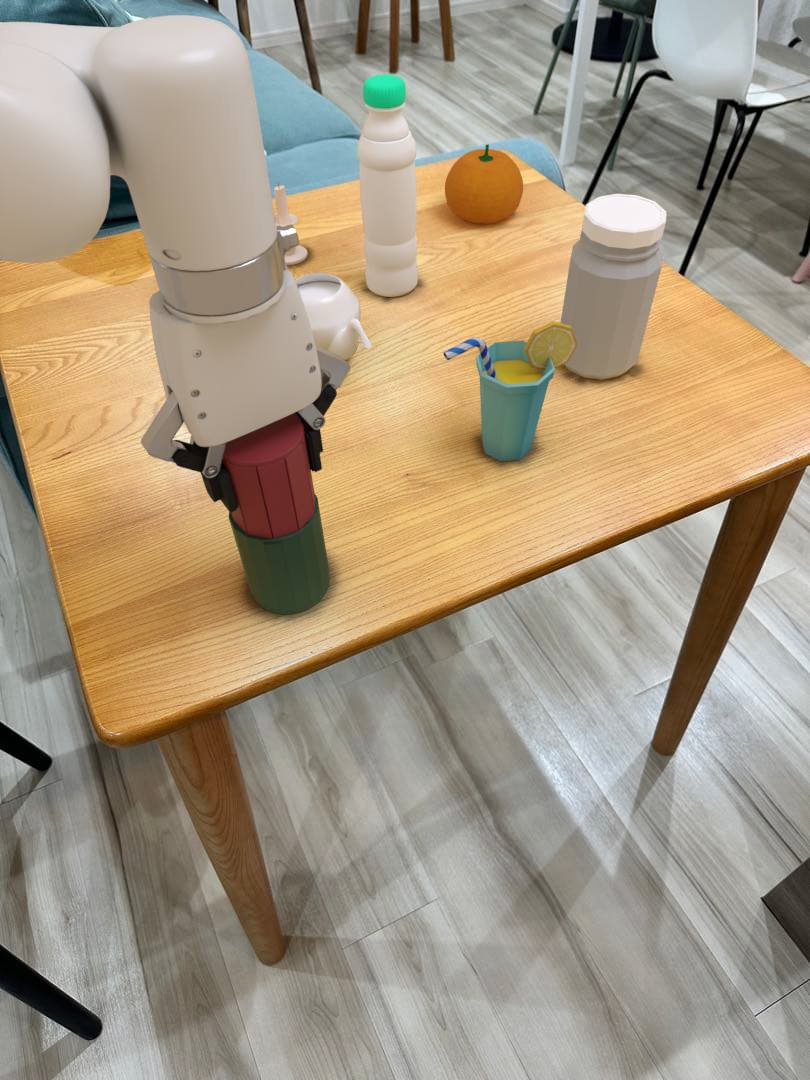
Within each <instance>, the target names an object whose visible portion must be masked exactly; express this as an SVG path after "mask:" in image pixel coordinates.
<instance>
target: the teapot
mask: <svg viewBox="0 0 810 1080" xmlns="http://www.w3.org/2000/svg"><path fill="white" fill-rule="evenodd" d="M286 267H287V268H288V265H286ZM294 280H295V282H296V284H297V287H298V290H299V292H300V295H301V298H302V301H303V304H304V307H305V310H306V313H307V316H308V319H309V322H310V326H311V329H312V333H313V337H314V341H315V345H316V346H318V347H320V348H323V349H325V350H327V351H330V352H332V353H334V354H337V355H339V356H340V357H342V358H343V359H344V360H345V361H346V360H347V361H348V360H349V359H350V358H352V357H353V356H354V355H355V354H356V352H357V350H358V347H359V342H360V343H361V345H362V347H363V348H365V349H371V348H372V347H373V345H372V342H371V341H370V339H369V338H368V336H367V334H366V332H365V330H364V328H363V326H362V323H361V313H362V312H361V304H360V301H359V299H358V297H357V295H356V294H355V292H353V290H352V289H351V288H350V286H348V284H347V283H346V282H345V281H344V280H342V279H341V277H339V276H336V275H334V274H330V273H326V272H311V273H307V274H304V275H300V276H299V277H297V278H295V279H294Z"/></svg>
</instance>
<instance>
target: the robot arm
mask: <svg viewBox="0 0 810 1080" xmlns="http://www.w3.org/2000/svg"><path fill="white" fill-rule="evenodd" d="M251 67H252V66H251V63H250V58H249V54H248V52H247V50H246V47H245V44H244V42H243V41H242V38H241V37H240V36H239V35H238V33H237V32H236V31H235V30H233V28H232V27H230V26H228V25H227V24H226V23H224V22H222V21H220V20H217V19H213V18H209V17H206V16H198V15H190V14H173V15H172V14H171V15H160V16H152V17H148V18H142V19H138V20H133V21H131V22H128V23H125V24H123V25H120V26H90V25H89V26H88V25H71V24H59V23H50V22H37V21H36V22H35V21H4V22H0V260H2V261H6V262H12V263H18V264H20V263H21V264H43V263H51V262H56V261H59V260H62V259H64V258H67V257H70V256H73V255H75V254H76V253H78V252H79V251H81V250H82V249H83V248H85V247H86V246H87V245H88V244H89V243H90V242H91V241H92V240H93V239H94V238H95V237H96V235H97V234H98V232H99V231H100V229H101V227H102V225H103V223H104V222H105V219H106V217H107V213H108V210H109V205H110V200H111V176H116V177H120V178H121V179H123V180H124V181H125V183H126V184H127V188H128V190H129V194H130V197H131V200H132V203H133V207H134V210H135V212H136V217H137V220H138V223H139V227H140V230H141V233H142V236H143V240H144V243H145V246H146V249H147V253H148V257H149V259H150V263H151V266H152V270H153V273H154V276H155V280H156V283H157V286H158V289H159V291H157V292H154V293H153V294H152V295H151V296H150V298H149V303H148V304H149V318H150V319H149V320H150V327H151V334H152V340H153V341H152V342H153V346H154V353H155V357H156V362H157V365H158V370H159V374H160V379H161V382H162V387H163V390H164V395H165V398H166V399H165V401H164V403H163V404H162V406H161V407H160V409H159V411H158V412H157V414H156V415H155V417H154V418H153V420H152V421H151V423H150V425H149V426H148V427H147V430H146V431H145V432H144V434H143V435H142V437H141V440H140V444H141V446H142V447H143V449H144V450H145V451H146V453H147V454H148V456H150V457H153V458H155V459H158V460H162V461H165V462H168V463H173V464H175V465H176V466H177V467H179V468H182V469H187V470H190V471H194V472H197V473H200V476H201V478H202V482H203V485H204V488H205V490H206V493H207V494H208V496H209V498H210V500H211V501H212V502H213V503H217V502H218V501H220V502H221V503H222V504H223V505H224V507H225V508H226V509H227V511H228V513H229V512H230V513H232V512H234V511H236V510H237V508H238V504H237V500H236V497H235V493H234V489H233V486H232V482H231V479H230V475H229V473H228V471H227V470H226V469H225V467H224V466H223V465H222V464H221V463H222V459H223V454H224V450H225V446H226V442H228V441H231V440H233V439H236V438H238V437H240V436H243V435H245V434H248V433H250V432H252V431H254V430H257V429H259V428H261V427H264V426H266V425H268V424H270V423H273V422H275V421H277V420H279V419H282V418H284V417H286V416H288V415H291V414H293V413H295V414H296V415H297V416H298V417H299V419H300V420H301V422H302V423H303V425H304V431H305V439H306V445H307V451H308V457H309V463H310V469H311V472H314V473H317V472H319V471H321V470H323V466H322V459H321V458H322V457H321V453H323V452H324V447H323V439H322V432H321V429H322V428H323V427H324V426H325V425H326V417H325V415H326V413H327V412H328V411H329V409H330V407H331V406H332V404H333V403H334V401H335V399H336V398H337V395H338V391H337V390H338V388H340V387H341V385H342V384H343V382H344V380H345V379H346V377H347V376H348V373H349V372H350V370H351V366H350V363H348V362H347V361H346V360H344V359H343V358H342V357H340V356H339V355H337V354H334V353H332V352H330V351H327V350H325V349H323V348H320V347H318V346H316V345H315V341H314V337H313V333H312V329H311V326H310V322H309V319H308V316H307V313H306V310H305V307H304V304H303V301H302V298H301V295H300V292H299V290H298V287H297V284H296V282H295V280H296V279H295V278H294V275H293V272H291V270H290V269H289V268H288V266H287V265H286V264H285V258H284V257H285V253H286V252H288V251H289V249H290V248H293V247H296V246H298V245H300V238H299V235H298V232H297V230H296V228H295V226H294V225H291V224H290V225H287V226H284V227H281V226H280V225H279V226H276V221H275V217H274V216H275V210H274V203H273V197H272V191H271V184H270V179H269V172H268V165H267V159H266V154H265V147H264V140H263V133H262V129H261V122H260V115H259V108H258V103H257V97H256V91H255V84H254V77H253V72H252V68H251ZM286 266H287V267H286ZM183 424H184V425H185V427H186V429H187V431H188V433H189V434H190V440H189V442H187V441H184V440H183V441H182V440H180V439H175V436H176V435H177V434H178V432H179V430H180V428H181V427H182V426H183Z"/></svg>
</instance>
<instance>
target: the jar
mask: <svg viewBox="0 0 810 1080" xmlns="http://www.w3.org/2000/svg"><path fill="white" fill-rule="evenodd" d="M584 207H585V208H584V211H583V212H584V213H583V219H582V226H581V232H580V237H579V239H578V240H577V241H576V242H575V243H574V244H573V245H572V249H571V253H570V260H569V265H568V272H567V279H566V286H565V292H564V298H563V305H562V312H561V315H560V316H561V318H560V323H562V324H566V325H569V326H571V327H572V329H573V332H574V335H575V338H576V341H577V344H578V345H577V347H576V349H575V351H574V352H573V354H572V356H571V358H570V359H569V361H568V363H565V364H563V365H564V367H566V369H567V370H568V371H570V372H571V373H573V374H575V375H578V376H580V377H581V378H585V379H591V380H599V381H603V380H607V379H608V380H609V379H613V378H618V377H620V376H622V375H623V374H625V373H626V372H628V371H629V370H630V369H631V368H633V367H634V366H635V365H636V364H637V363H638V360H639V358H640V357H639V356H640V353H641V348H642V346H643V341H644V337H645V333H646V331H647V325H648V322H649V318H650V314H651V310H652V305H653V303H654V298H655V294H656V291H657V286H658V282H659V279H660V275H661V271H662V268H663V253H662V251H661V249H660V248H661V239H662V238H663V235H664V231H665V228H666V224H667V211H666V210H665V209H664V208H663V207H662V206H661V205H660V204H659V203H658V202H656V201H655V200H652V199H650V198H648V197H647V198H646V197H643V196H640V195H637V194H628V193H627V194H626V193H614V194H607V195H601V196H600V195H599V196H598V197H596V198H594V199H592V200H591V201H589V202H587V203H586V204H585V206H584Z"/></svg>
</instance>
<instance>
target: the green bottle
mask: <svg viewBox="0 0 810 1080" xmlns="http://www.w3.org/2000/svg"><path fill="white" fill-rule="evenodd" d="M228 520H229V523H230V527H231V531H232V534H233V537H234V541H235V544H236V547H237V550H238V554H239V557H240V561H241V564H242V568H243V570H244V571H243V572H244V574H245V578H246V581H247V583H248V589H249V590H250V592H251V595H252V597H253V599H254V601H255V602H256V603H257V605H258V606H260V607H261V608H263V609H264V610H266V611H268V612H270V613H273V614H279V615H294V614H298V613H302V612H305V611H307V610H309V609H311V608H313V607H314V606H316V605H317V604H318V603H320V601H321V600H323V598H324V597H325V595H326V594H327V592H328V589H329V587H330V579H331V578H330V568H329V567H330V566H329V561H328V554H327V549H326V548H327V547H326V542H325V535H324V529H323V523H322V517H321V511H320V505H319V498H318V496H317V494H316V493H315V513H314V515H313V516H312V517H311V518H310V519H309V520H308V521H307V523H306V524H305V525H304V526H303V527H302V528H301V529H300V530H299V529H298V531H296V532H293V533H290V534H287V535H283V536H280V537H277V538H274V537H273V538H266V537H260V536H254V535H249V534H247V533H246V532H245V531H244V530H243V529H242V528H241V527H240V526H239V525H238V524H237V523H236V522H235V521H234V520H233V517H232V513H230V512H229V511H228Z"/></svg>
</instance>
